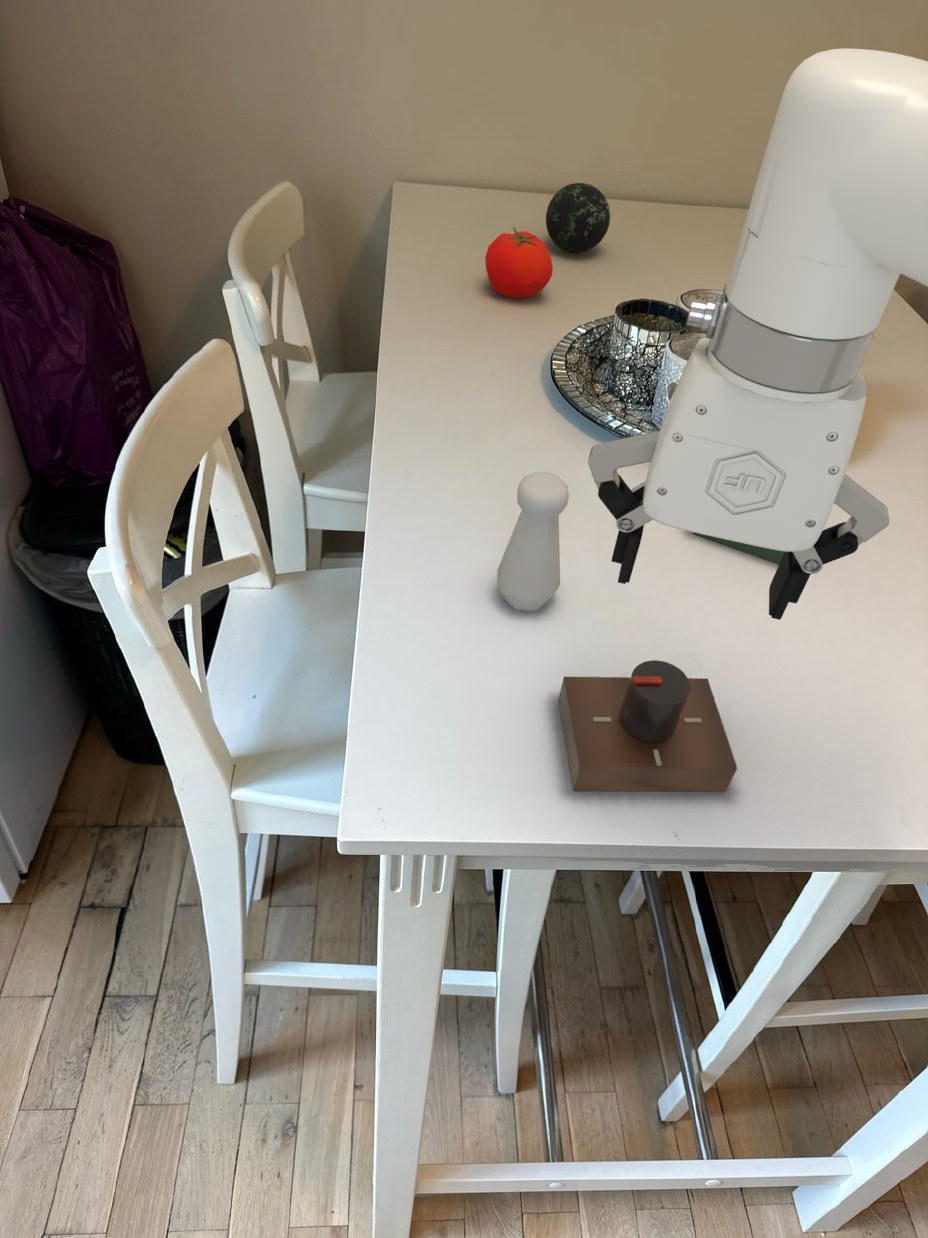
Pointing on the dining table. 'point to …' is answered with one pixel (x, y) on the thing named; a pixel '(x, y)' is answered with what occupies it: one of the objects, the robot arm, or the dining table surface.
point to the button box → (750, 549)
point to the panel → (631, 764)
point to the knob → (654, 701)
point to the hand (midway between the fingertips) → (698, 587)
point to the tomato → (518, 264)
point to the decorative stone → (577, 217)
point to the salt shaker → (534, 543)
